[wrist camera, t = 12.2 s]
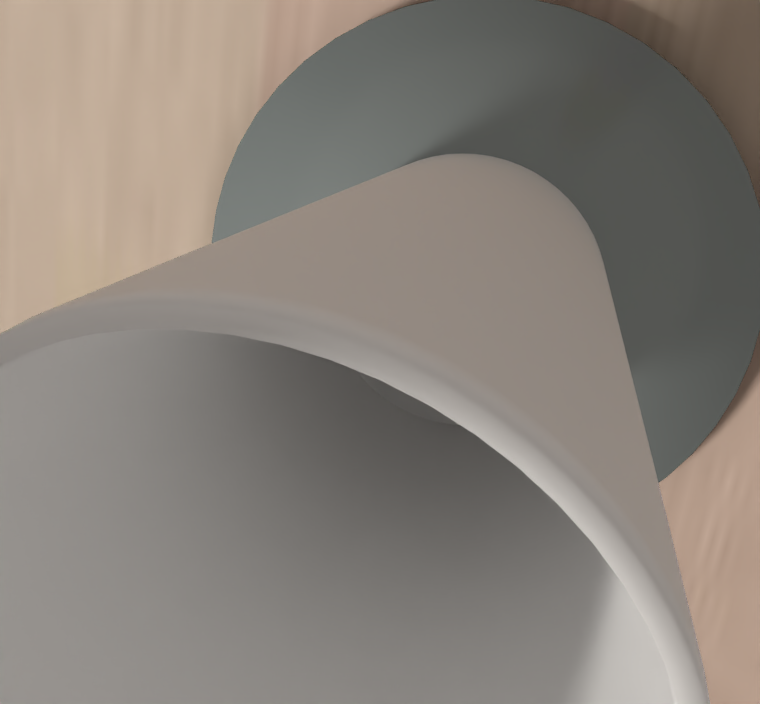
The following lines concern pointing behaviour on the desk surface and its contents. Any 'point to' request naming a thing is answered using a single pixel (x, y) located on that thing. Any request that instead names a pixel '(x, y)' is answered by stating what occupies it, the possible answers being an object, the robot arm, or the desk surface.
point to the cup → (343, 468)
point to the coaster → (543, 171)
